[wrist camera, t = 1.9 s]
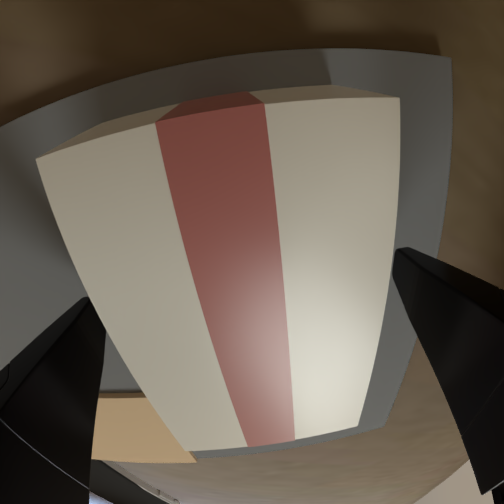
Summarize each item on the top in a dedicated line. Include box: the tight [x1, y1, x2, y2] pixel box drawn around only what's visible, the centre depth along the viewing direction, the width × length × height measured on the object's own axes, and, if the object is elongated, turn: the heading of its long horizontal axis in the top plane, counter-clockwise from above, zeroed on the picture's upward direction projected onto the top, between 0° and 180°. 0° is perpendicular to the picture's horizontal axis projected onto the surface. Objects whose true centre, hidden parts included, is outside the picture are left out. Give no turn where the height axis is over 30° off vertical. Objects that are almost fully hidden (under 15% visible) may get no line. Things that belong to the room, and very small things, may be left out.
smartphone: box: [89, 459, 180, 504], centre depth 22 cm, size 8×1×15 cm
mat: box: [0, 48, 453, 463], centre depth 12 cm, size 26×20×1 cm
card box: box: [36, 85, 400, 451], centre depth 8 cm, size 10×6×4 cm, turn 7°
